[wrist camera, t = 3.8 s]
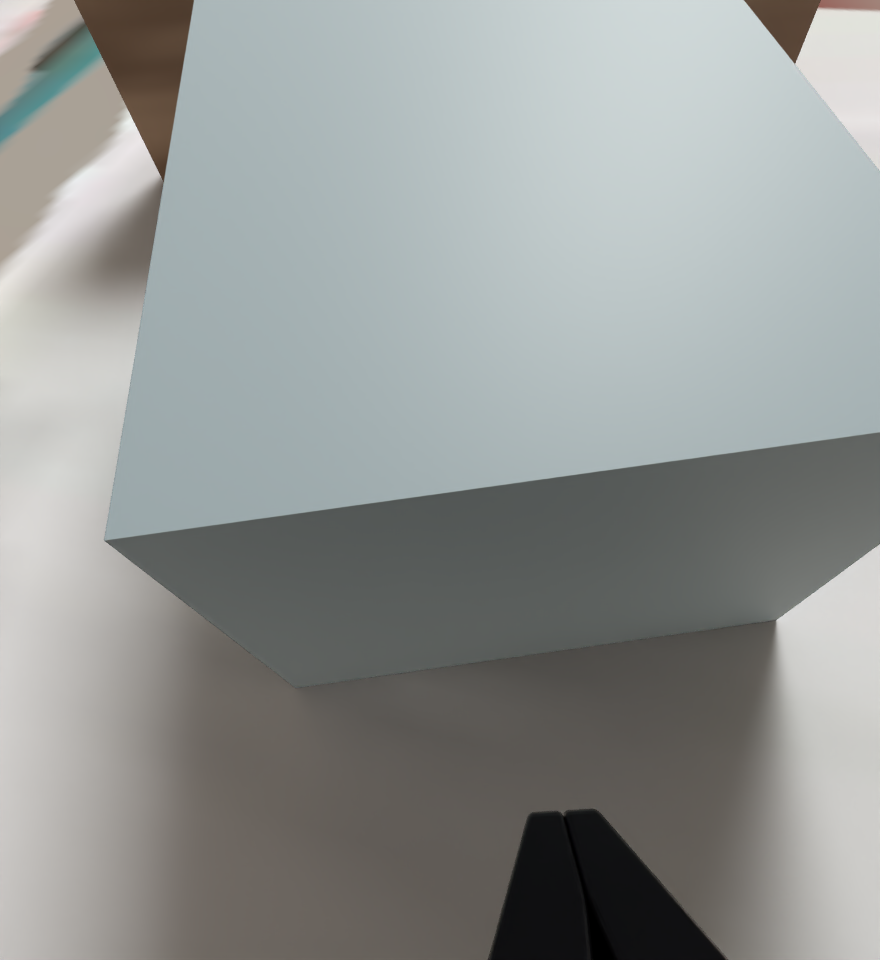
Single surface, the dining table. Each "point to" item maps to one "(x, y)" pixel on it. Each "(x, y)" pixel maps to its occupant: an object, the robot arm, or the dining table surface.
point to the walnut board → (164, 33)
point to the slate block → (499, 332)
